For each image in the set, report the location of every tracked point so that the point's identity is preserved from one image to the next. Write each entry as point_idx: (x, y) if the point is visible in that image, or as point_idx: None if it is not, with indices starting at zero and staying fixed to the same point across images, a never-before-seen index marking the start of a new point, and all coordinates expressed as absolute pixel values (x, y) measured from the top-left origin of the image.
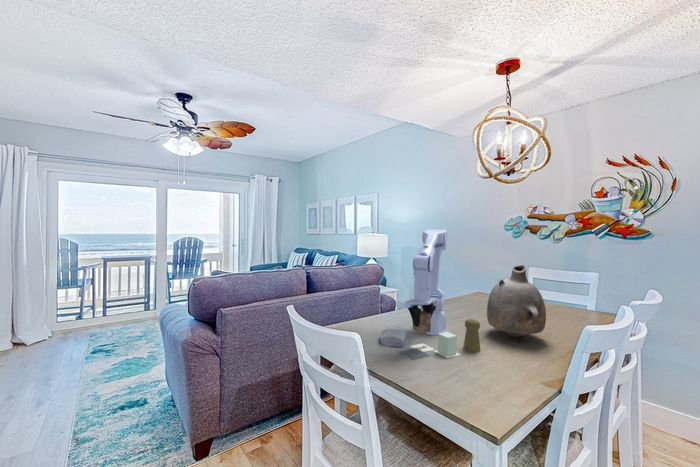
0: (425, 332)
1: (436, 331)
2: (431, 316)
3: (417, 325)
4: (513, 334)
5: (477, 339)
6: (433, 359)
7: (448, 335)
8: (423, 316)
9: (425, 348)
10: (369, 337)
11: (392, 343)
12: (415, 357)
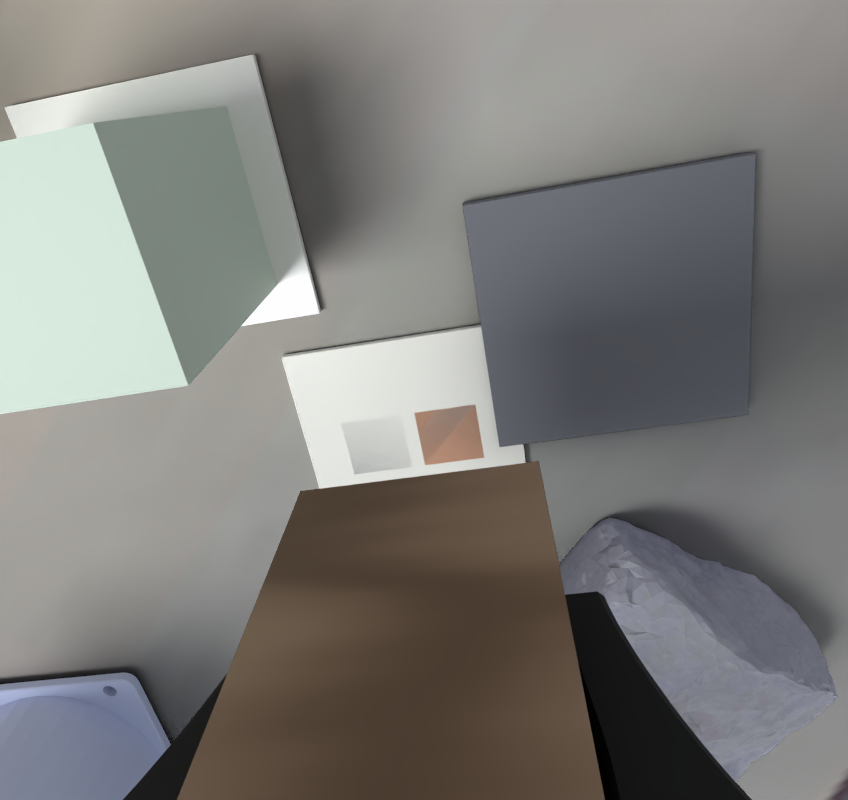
0: (162, 738)
1: (39, 711)
2: (144, 776)
3: (603, 607)
4: None
5: None
6: (463, 90)
7: (17, 243)
8: (498, 767)
9: (383, 408)
10: (792, 792)
11: (728, 593)
12: (694, 191)
